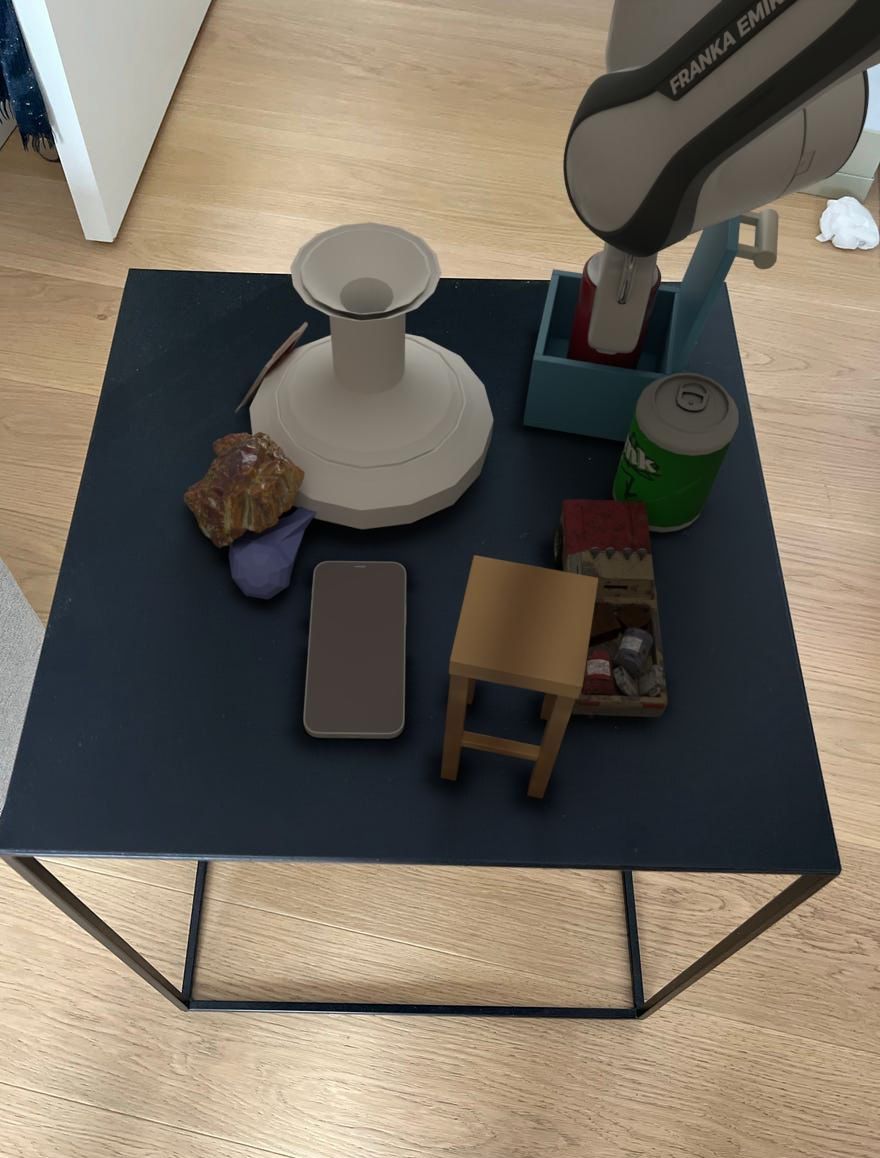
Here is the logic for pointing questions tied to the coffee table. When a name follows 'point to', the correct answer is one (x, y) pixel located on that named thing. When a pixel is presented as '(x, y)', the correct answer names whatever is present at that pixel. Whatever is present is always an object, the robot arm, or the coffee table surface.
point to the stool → (519, 654)
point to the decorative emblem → (273, 363)
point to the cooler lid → (718, 273)
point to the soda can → (676, 448)
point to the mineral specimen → (243, 487)
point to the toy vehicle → (616, 606)
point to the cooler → (593, 368)
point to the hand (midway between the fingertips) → (612, 316)
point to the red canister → (582, 317)
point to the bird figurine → (268, 555)
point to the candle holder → (373, 387)
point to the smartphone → (356, 651)
